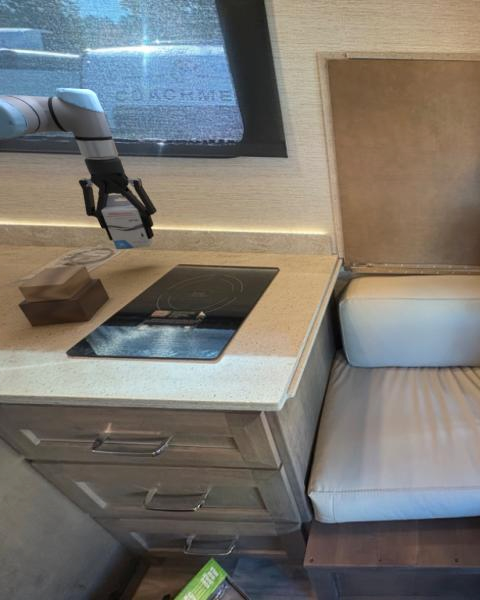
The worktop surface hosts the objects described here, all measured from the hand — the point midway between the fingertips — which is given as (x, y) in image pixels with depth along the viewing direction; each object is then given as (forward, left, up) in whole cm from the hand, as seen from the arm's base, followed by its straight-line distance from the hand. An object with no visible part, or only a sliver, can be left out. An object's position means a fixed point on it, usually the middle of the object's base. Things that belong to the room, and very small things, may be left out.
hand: (132, 237), depth 99 cm
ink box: (0, 0, -3) cm, 3 cm away
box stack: (-8, -24, -10) cm, 27 cm away
